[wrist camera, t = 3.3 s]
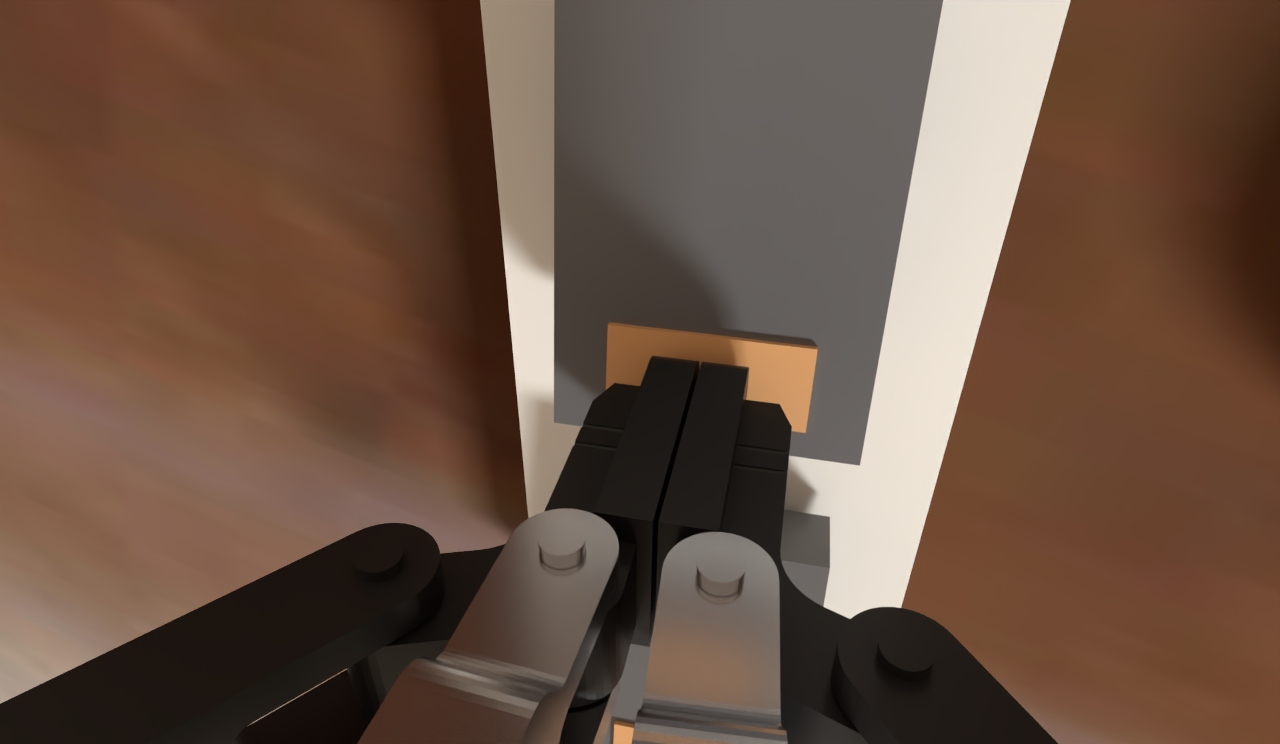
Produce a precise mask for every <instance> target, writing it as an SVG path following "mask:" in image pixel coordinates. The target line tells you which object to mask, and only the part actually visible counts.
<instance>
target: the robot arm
mask: <svg viewBox="0 0 1280 744" xmlns="http://www.w3.org/2000/svg"><path fill="white" fill-rule="evenodd" d="M748 379H749V367H744V366H736V365H728V364H720V363H712V362H704V361H702V363H701V366H699V361H694V360H686V359H678V358H669V357H661V356H652V357H651V358H650V361H649V363H648V366H647V369H646V372H645V374H644V377H643V380H642V382H641V385H640V386H635V385H627V384H619V383H614V384H613V385H611V386H610V387H609V388H608V389H606V390H605V391H604V392H603V393H602V394H600V395H599V396H598V397H597V398H595V399H594V400H593V401H592V404H591V406H590V408H589V410H588V413H587V415H586V417H585V420H584V422H583V427H581V429H580V431H579V433H578V436H577V438H576V440H575V445H574V446H573V447H572V449H571V451H570V454H569V456H568V458H567V461H566V463H565V465H564V467H563V470H562V472H561V474H560V476H559V479H558V481H557V483H556V486H555V488H554V490H553V492H552V495H551V497H550V499H549V502H548V504H547V506H546V508H545V511H544V512H542V513H539V514H536V515H534V516H532V517H530V518H528V519H527V520H525V521H524V522H523V523H521V524H520V525H519V526H518V527H517V528H516V529H515V530H514V532H513V533H512V534H511V536H510V537H509V539H508V541H507V543H506V544H504V545H501V546H497V547H494V548H489V549H483V550H474V551H463V552H453V553H443V554H440V551H439V548H438V545H437V543H436V541H435V540H434V538H433V537H432V536H431V535H430V534H429V533H428V532H426V531H424V530H423V529H421V528H418V527H416V526H413V525H409V524H403V523H385V524H380V525H374V526H371V527H368V528H365V529H362V530H360V531H357V532H355V533H353V534H351V535H349V536H347V537H345V538H343V539H341V540H339V541H336V542H334V543H332V544H330V545H328V546H326V547H324V548H322V549H320V550H318V551H316V552H314V553H312V554H310V555H307V556H305V557H303V558H301V559H299V560H297V561H295V562H293V563H291V564H289V565H287V566H285V567H283V568H281V569H278V570H276V571H274V572H272V573H270V574H268V575H266V576H264V577H262V578H260V579H258V580H256V581H254V582H252V583H250V584H247V585H245V586H243V587H241V588H239V589H237V590H235V591H233V592H231V593H229V594H227V595H225V596H223V597H221V598H218V599H216V600H214V601H212V602H210V603H208V604H206V605H204V606H202V607H200V608H198V609H196V610H194V611H192V612H189V613H187V614H185V615H183V616H181V617H179V618H177V619H175V620H173V621H171V622H169V623H167V624H165V625H163V626H161V627H158V628H156V629H154V630H152V631H150V632H148V633H146V634H144V635H142V636H140V637H138V638H136V639H134V640H132V641H129V642H127V643H125V644H123V645H121V646H119V647H117V648H115V649H113V650H111V651H109V652H107V653H105V654H103V655H100V656H98V657H96V658H94V659H92V660H90V661H88V662H86V663H84V664H82V665H80V666H78V667H76V668H74V669H72V670H69V671H67V672H65V673H63V674H61V675H59V676H57V677H55V678H53V679H51V680H49V681H47V682H45V683H43V684H40V685H38V686H36V687H34V688H32V689H30V690H28V691H26V692H24V693H22V694H20V695H18V696H16V697H14V698H11V699H9V700H7V701H5V702H3V703H1V704H0V744H602V742H603V739H604V737H605V734H606V731H607V728H608V725H609V722H610V720H611V717H612V714H613V711H614V708H615V705H616V703H617V700H618V696H619V692H620V679H621V676H622V674H623V671H624V667H625V663H626V660H627V656H628V652H629V648H630V644H635V645H641V646H646V647H650V643H651V648H650V655H649V662H648V669H647V676H646V682H645V689H644V696H643V702H642V707H641V709H638V712H637V716H636V720H635V726H634V731H633V738H632V744H1058V743H1057V742H1056V741H1055V740H1054V739H1053V738H1052V737H1051V736H1050V735H1049V734H1048V733H1047V732H1046V731H1045V730H1044V729H1043V728H1042V727H1041V726H1040V725H1039V723H1038V722H1037V721H1036V720H1035V719H1034V718H1033V717H1032V716H1031V715H1030V714H1029V713H1028V712H1027V711H1026V710H1025V709H1024V708H1023V707H1022V706H1021V705H1020V704H1019V703H1018V702H1017V701H1016V700H1015V699H1014V698H1013V697H1012V696H1011V695H1010V694H1009V693H1008V692H1007V691H1006V689H1005V688H1004V687H1003V686H1002V685H1001V684H1000V683H999V682H998V681H997V680H996V679H995V678H994V677H993V676H992V675H991V674H990V673H989V672H988V671H987V670H986V669H985V668H984V667H983V666H982V665H981V664H980V663H979V662H978V661H977V660H976V659H975V658H974V657H973V655H972V654H971V653H970V652H969V651H968V650H967V649H966V648H965V647H964V646H963V645H962V644H961V643H960V642H959V641H958V640H957V639H956V638H955V637H954V636H953V635H952V634H951V633H950V632H949V631H948V630H947V629H945V628H944V627H943V626H941V625H940V624H939V623H937V622H936V621H934V620H932V619H930V618H929V617H927V616H925V615H922V614H920V613H917V612H915V611H912V610H908V609H904V608H897V607H877V608H871V609H868V610H865V611H862V612H860V613H859V614H857V615H855V616H854V617H852V618H851V619H849V618H847V617H845V616H843V615H840V614H838V613H836V612H834V611H831V610H829V609H827V608H825V607H823V606H821V605H819V604H817V603H815V602H814V601H812V600H811V599H809V598H808V597H807V596H805V595H804V594H803V593H802V592H801V591H800V590H798V589H797V588H796V586H795V585H794V584H793V583H792V582H791V580H790V579H789V577H788V576H787V574H786V572H785V570H784V568H783V565H782V561H781V550H780V549H781V538H782V527H783V516H784V506H785V495H786V484H787V473H788V463H789V452H790V441H791V430H792V426H791V424H790V423H789V421H788V419H787V417H786V415H785V413H784V411H783V409H782V407H781V406H780V404H776V403H768V402H760V401H752V400H746V399H747V389H748ZM651 639H652V641H651ZM346 668H347V670H345V671H344V672H342V673H340V674H338V675H337V676H335V677H333V678H332V679H330V680H328V681H326V682H325V683H323V684H321V685H319V686H318V687H316V688H314V689H312V690H311V691H309V692H307V693H305V694H304V695H302V696H300V697H298V698H297V699H295V700H293V701H291V702H290V703H288V704H286V705H284V706H283V707H281V708H279V709H278V710H276V711H274V712H272V713H271V714H269V715H267V716H265V717H264V718H262V719H260V720H258V721H257V722H255V723H253V724H251V723H252V722H254V721H255V720H257V719H259V718H261V717H262V716H264V715H266V714H268V713H269V712H271V711H273V710H275V709H276V708H278V707H280V706H281V705H283V704H285V703H287V702H288V701H290V700H292V699H294V698H295V697H297V696H299V695H301V694H302V693H304V692H306V691H308V690H309V689H311V688H313V687H315V686H316V685H318V684H320V683H322V682H323V681H325V680H327V679H329V678H330V677H332V676H334V675H336V674H337V673H339V672H341V671H343V670H344V669H346ZM249 724H251V725H249ZM248 725H249V726H248Z"/></svg>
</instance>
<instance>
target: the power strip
mask: <svg viewBox="0 0 1280 744" xmlns="http://www.w3.org/2000/svg"><path fill="white" fill-rule="evenodd" d="M554 1H555V0H480V5H481V16H482V26H483V37H484V48H485V58H486V69H487V80H488V91H489V101H490V112H491V123H492V133H493V144H494V155H495V166H496V176H497V187H498V198H499V208H500V219H501V230H502V240H503V251H504V262H505V273H506V283H507V294H508V305H509V315H510V326H511V337H512V347H513V358H514V369H515V380H516V390H517V401H518V412H519V422H520V433H521V444H522V454H523V465H524V476H525V487H526V497H527V508H528V518H530V517H532V516H534V515H536V514H539V513H542V512H544V511H545V508H546V506H547V504H548V502H549V499H550V497H551V495H552V492H553V490H554V488H555V486H556V483H557V481H558V479H559V476H560V474H561V472H562V470H563V467H564V465H565V463H566V461H567V458H568V456H569V454H570V451H571V449H572V447H573V446H574V445H575V440H576V438H577V436H578V433H579V431H580V429H581V427H582V426H575V425H568V424H561V423H554ZM1069 4H1070V0H943V5H942V10H941V16H940V21H939V27H938V32H937V38H936V44H935V49H934V55H933V60H932V66H931V72H930V77H929V83H928V88H927V94H926V99H925V105H924V111H923V116H922V122H921V127H920V133H919V138H918V144H917V150H916V155H915V161H914V166H913V172H912V178H911V183H910V189H909V194H908V200H907V205H906V211H905V217H904V222H903V228H902V233H901V239H900V245H899V250H898V256H897V261H896V267H895V272H894V278H893V284H892V289H891V295H890V300H889V306H888V312H887V317H886V323H885V328H884V334H883V339H882V345H881V351H880V356H879V362H878V367H877V373H876V378H875V384H874V390H873V395H872V401H871V406H870V412H869V418H868V423H867V429H866V434H865V440H864V445H863V451H862V457H861V462H860V466H859V465H852V464H844V463H837V462H830V461H823V460H816V459H809V458H802V457H795V456H789V463H788V473H787V484H786V495H785V506H784V510H789V511H795V512H802V513H808V514H815V515H822V516H828V517H830V571H829V577H828V582H827V588H826V594H825V600H824V606H823V607H825V608H827V609H829V610H831V611H834V612H836V613H838V614H840V615H843V616H845V617H847V618H849V619H851V618H852V617H854V616H855V615H857V614H859V613H860V612H862V611H865V610H868V609H871V608H877V607H897V608H901V606H902V602H903V599H904V595H905V592H906V588H907V584H908V581H909V577H910V574H911V570H912V566H913V563H914V559H915V556H916V552H917V549H918V545H919V541H920V538H921V534H922V531H923V527H924V523H925V520H926V516H927V513H928V509H929V506H930V502H931V498H932V495H933V491H934V488H935V484H936V481H937V477H938V473H939V470H940V466H941V463H942V459H943V455H944V452H945V448H946V445H947V441H948V438H949V434H950V430H951V427H952V423H953V420H954V416H955V412H956V409H957V405H958V402H959V398H960V395H961V391H962V387H963V384H964V380H965V377H966V373H967V369H968V366H969V362H970V359H971V355H972V352H973V348H974V344H975V341H976V337H977V334H978V330H979V326H980V323H981V319H982V316H983V312H984V309H985V305H986V301H987V298H988V294H989V291H990V287H991V283H992V280H993V276H994V273H995V269H996V266H997V262H998V258H999V255H1000V251H1001V248H1002V244H1003V240H1004V237H1005V233H1006V230H1007V226H1008V223H1009V219H1010V215H1011V212H1012V208H1013V205H1014V201H1015V198H1016V194H1017V190H1018V187H1019V183H1020V180H1021V176H1022V172H1023V169H1024V165H1025V162H1026V158H1027V155H1028V151H1029V147H1030V144H1031V140H1032V137H1033V133H1034V129H1035V126H1036V122H1037V119H1038V115H1039V112H1040V108H1041V104H1042V101H1043V97H1044V94H1045V90H1046V86H1047V83H1048V79H1049V76H1050V72H1051V69H1052V65H1053V61H1054V58H1055V54H1056V51H1057V47H1058V43H1059V40H1060V36H1061V33H1062V29H1063V26H1064V22H1065V18H1066V15H1067V11H1068V8H1069Z"/></svg>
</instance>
